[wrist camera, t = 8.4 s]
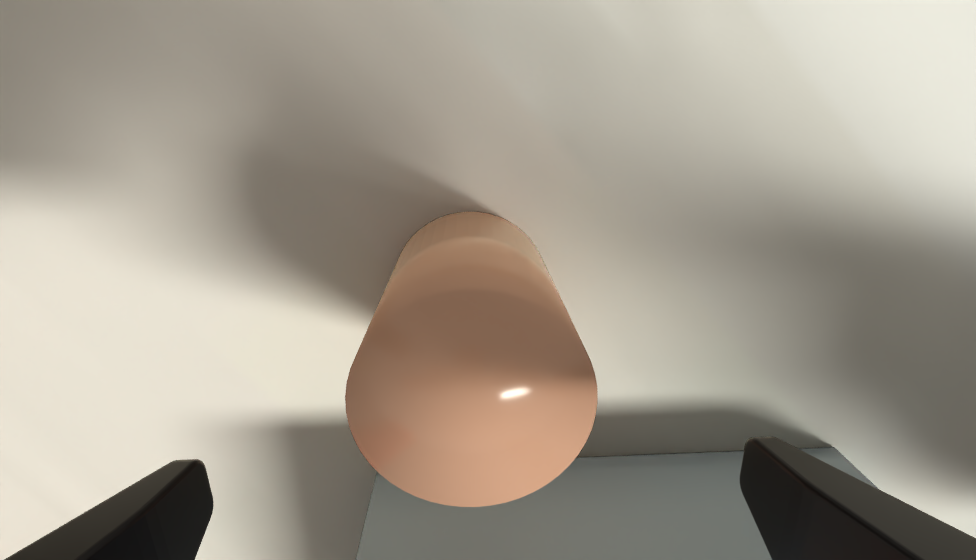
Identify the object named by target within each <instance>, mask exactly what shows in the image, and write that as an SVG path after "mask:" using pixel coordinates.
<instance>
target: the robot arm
mask: <svg viewBox="0 0 976 560" xmlns="http://www.w3.org/2000/svg"><path fill="white" fill-rule="evenodd" d="M740 488H741V491H742V494H743V496H744V498H745V501H746V503H747V505H748V507H749V510H750V512H751V514H752V516H753V518H754V521H755V523H756V525H757V527H758V530H759V532H760V534H761V536H762V539H763V541H764V543H765V545H766V548H767V550H768V552H769V554H770V556H771V559H772V560H976V538H974V537H972V536H970V535H968V534H966V533H964V532H962V531H960V530H958V529H956V528H954V527H952V526H950V525H948V524H946V523H944V522H942V521H940V520H938V519H936V518H934V517H932V516H930V515H928V514H926V513H924V512H922V511H920V510H918V509H917V508H915V507H913V506H911V505H909V504H907V503H905V502H903V501H901V500H899V499H897V498H895V497H893V496H891V495H889V494H887V493H885V492H883V491H881V490H879V489H877V488H875V487H873V486H871V485H869V484H867V483H865V482H863V481H861V480H859V479H857V478H855V477H853V476H851V475H849V474H847V473H845V472H843V471H841V470H839V469H837V468H835V467H833V466H831V465H829V464H827V463H825V462H823V461H821V460H820V459H818V458H816V457H814V456H812V455H810V454H808V453H806V452H804V451H802V450H800V449H798V448H796V447H794V446H792V445H790V444H788V443H786V442H784V441H782V440H780V439H778V438H776V437H771V436H769V437H751V438H749V439H748V440H747V442H746V444H745V448H744V454H743V460H742V465H741V471H740ZM212 511H213V496H212V492H211V488H210V484H209V480H208V476H207V472H206V468H205V465H204V463H203V462H202V461H200V460H198V459H191V460H175V461H172V462H170V463H169V464H167V465H165V466H163V467H162V468H160V469H158V470H157V471H155V472H153V473H152V474H150V475H148V476H146V477H145V478H143V479H141V480H140V481H138V482H136V483H134V484H133V485H131V486H129V487H128V488H126V489H124V490H122V491H121V492H119V493H117V494H116V495H114V496H112V497H110V498H109V499H107V500H105V501H104V502H102V503H100V504H99V505H97V506H95V507H93V508H92V509H90V510H88V511H87V512H85V513H83V514H81V515H80V516H78V517H76V518H75V519H73V520H71V521H69V522H68V523H66V524H64V525H63V526H61V527H59V528H57V529H56V530H54V531H52V532H51V533H49V534H47V535H46V536H44V537H42V538H40V539H39V540H37V541H35V542H34V543H32V544H30V545H28V546H27V547H25V548H23V549H22V550H20V551H18V552H16V553H15V554H13V555H11V556H10V557H8V558H6V559H5V560H195V557H196V555H197V552H198V549H199V547H200V544H201V542H202V539H203V536H204V534H205V531H206V528H207V526H208V523H209V521H210V518H211V515H212Z"/></svg>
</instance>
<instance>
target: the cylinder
mask: <svg viewBox="0 0 976 560" xmlns="http://www.w3.org/2000/svg"><path fill="white" fill-rule="evenodd" d="M345 400H346V414H347V418H348V423H349V427H350V430H351V433H352V435H353V438H354V440H355V442H356V444H357V446H358V448H359V449H360V451H361V453H362V454H363V455H364V457H365V458H366V460H367V461H368V462H369V463H370V465H371V466H372V467H373V468H374V469H375V470H376V471H377V472H378V473H379V474H380V475H382V476H383V477H384V478H385V479H387V480H388V481H389V482H390V483H392V484H393V485H395V486H397V487H398V488H400V489H401V490H403V491H405V492H407V493H409V494H411V495H413V496H416V497H418V498H421V499H424V500H427V501H430V502H434V503H438V504H443V505H449V506H457V507H481V506H491V505H496V504H501V503H506V502H509V501H512V500H516V499H519V498H521V497H524V496H526V495H528V494H531V493H533V492H535V491H537V490H538V489H540V488H542V487H543V486H545V485H547V484H548V483H550V482H551V481H552V480H554V479H555V478H556V477H558V476H559V475H560V474H561V473H562V472H563V471H564V470H565V469H566V468H567V467H568V466H569V465H570V464H571V463H572V462H573V461H574V459H575V458H576V457H577V456H578V454H579V453H580V451H581V450H582V448H583V446H584V445H585V443H586V441H587V439H588V437H589V434H590V432H591V430H592V427H593V423H594V420H595V416H596V409H597V384H596V378H595V373H594V370H593V367H592V364H591V361H590V358H589V356H588V354H587V352H586V350H585V348H584V346H583V344H582V341H581V339H580V337H579V335H578V333H577V331H576V329H575V327H574V325H573V323H572V320H571V318H570V316H569V314H568V312H567V310H566V308H565V306H564V304H563V302H562V300H561V297H560V295H559V293H558V291H557V289H556V287H555V285H554V283H553V281H552V279H551V277H550V274H549V272H548V270H547V268H546V266H545V264H544V262H543V260H542V258H541V256H540V254H539V252H538V250H537V248H536V246H535V245H534V243H533V242H532V241H531V239H530V238H529V237H528V236H527V235H526V234H525V233H524V232H523V231H522V230H521V229H519V228H518V227H517V226H515V225H514V224H512V223H511V222H509V221H507V220H505V219H503V218H501V217H498V216H495V215H492V214H488V213H482V212H457V213H453V214H448V215H445V216H443V217H440V218H437V219H435V220H434V221H432V222H430V223H428V224H427V225H425V226H424V227H422V228H421V229H420V230H419V231H418V232H416V233H415V234H414V235H413V236H412V237H411V239H410V240H409V241H408V242H407V244H406V245H405V247H404V249H403V250H402V252H401V254H400V256H399V259H398V261H397V263H396V265H395V268H394V270H393V272H392V275H391V277H390V279H389V281H388V284H387V286H386V288H385V291H384V293H383V295H382V297H381V300H380V302H379V304H378V307H377V309H376V311H375V313H374V316H373V318H372V320H371V322H370V325H369V327H368V329H367V332H366V334H365V336H364V338H363V341H362V343H361V345H360V348H359V350H358V352H357V354H356V357H355V359H354V361H353V364H352V366H351V368H350V372H349V376H348V380H347V386H346V395H345Z"/></svg>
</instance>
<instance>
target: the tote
mask: <svg viewBox="0 0 976 560" xmlns="http://www.w3.org/2000/svg"><path fill="white" fill-rule="evenodd" d="M800 450H802V451H804V452H806V453H808V454H810V455H812V456H814V457H816V458H818V459H820V460H821V461H823V462H825V463H827V464H829V465H831V466H833V467H835V468H837V469H839V470H841V471H843V472H845V473H847V474H849V475H851V476H853V477H855V478H857V479H859V480H861V481H863V482H865V483H867V484H869V485H871V486H873V487H875V488H877V487H876V486H875V485H874V484H873V483H872V482H871V481H870V480H868V479H867V478H866V477H865V476H864V475H863V474H862V473H861V472H860V471H859V470H858V469H857V468H856V467H855V466H854V465H853V464H851V463H850V462H849V461H848V460H847V459H846V458H845V457H844V456H843V455H842V454H841V453H840V452H839V451H838V450H837V449H835V448H834V447H829V448H804V449H800ZM743 454H744V451H730V452H706V453H681V454H656V455H632V456H607V457H582V458H575V459H574V461H573V462H572V463H571V464H570V465H569V466H568V467H567V468H566V469H565V470H564V471H563V472H562V473H561V474H560V475H559V476H558V477H556V478H555V479H554V480H552V481H551V482H550V483H548V484H547V485H545V486H543V487H542V488H540V489H538V490H537V491H535V492H533V493H531V494H528V495H526V496H524V497H521V498H519V499H516V500H512V501H509V502H506V503H501V504H496V505H491V506H481V507H457V506H449V505H443V504H438V503H434V502H430V501H427V500H424V499H421V498H418V497H416V496H413V495H411V494H409V493H407V492H405V491H403V490H401V489H400V488H398V487H397V486H395V485H393V484H392V483H390V482H389V481H388V480H387V479H385V478H384V477H383V476H382V475H380V474H379V473H378V472H377V474H376V478H375V482H374V486H373V490H372V494H371V499H370V503H369V507H368V511H367V515H366V519H365V523H364V527H363V531H362V535H361V540H360V544H359V548H358V552H357V556H356V560H772V559H771V556H770V554H769V552H768V550H767V548H766V545H765V543H764V541H763V539H762V536H761V534H760V532H759V530H758V527H757V525H756V523H755V521H754V518H753V516H752V514H751V512H750V510H749V507H748V505H747V503H746V501H745V498H744V496H743V494H742V491H741V488H740V471H741V465H742V460H743ZM877 489H878V488H877Z"/></svg>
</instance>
